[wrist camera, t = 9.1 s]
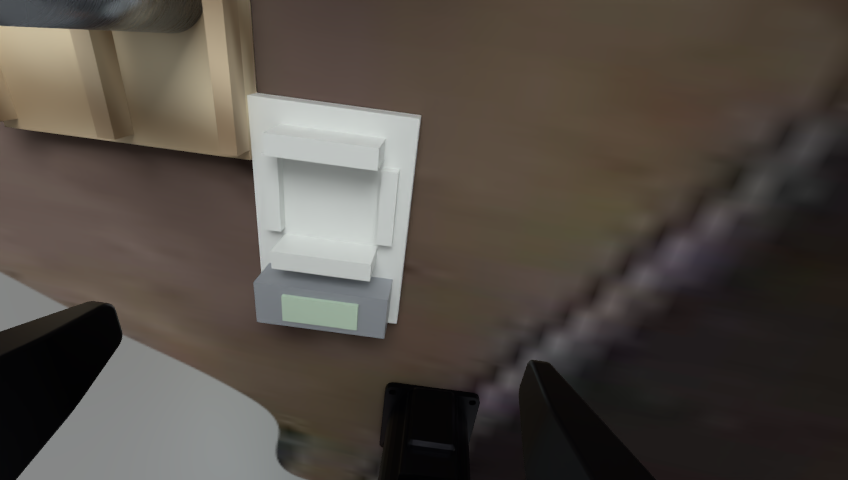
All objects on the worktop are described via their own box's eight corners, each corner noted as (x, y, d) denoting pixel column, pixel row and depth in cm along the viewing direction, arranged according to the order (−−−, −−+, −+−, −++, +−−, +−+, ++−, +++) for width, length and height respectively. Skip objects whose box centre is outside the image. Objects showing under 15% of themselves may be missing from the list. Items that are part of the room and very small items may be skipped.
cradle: (398, 313, 24) (391, 349, 21) (270, 296, 24) (247, 330, 21) (421, 115, 19) (416, 127, 16) (256, 92, 19) (222, 101, 16)
